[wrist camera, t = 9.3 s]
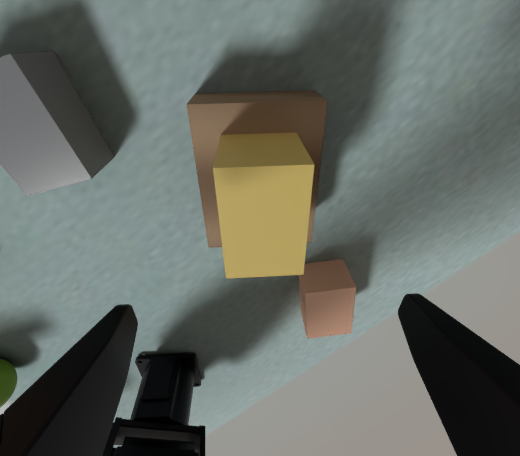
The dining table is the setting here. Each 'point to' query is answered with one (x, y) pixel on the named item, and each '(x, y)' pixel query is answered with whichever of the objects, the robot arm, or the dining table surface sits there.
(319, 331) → the terracotta brick
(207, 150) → the walnut block
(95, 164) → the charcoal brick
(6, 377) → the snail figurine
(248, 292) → the dining table surface
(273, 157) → the mustard brick
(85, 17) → the dining table surface
